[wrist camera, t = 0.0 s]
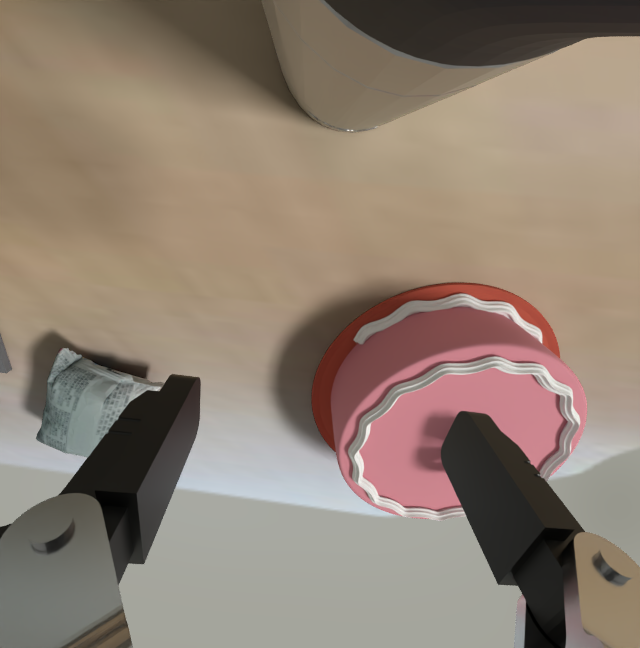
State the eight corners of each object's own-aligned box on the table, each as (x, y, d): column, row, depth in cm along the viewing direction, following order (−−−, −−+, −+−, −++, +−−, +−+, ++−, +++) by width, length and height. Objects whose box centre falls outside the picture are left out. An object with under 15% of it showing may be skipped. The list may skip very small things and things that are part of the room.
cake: (508, 472, 39) (572, 573, 30) (308, 473, 38) (308, 579, 28) (602, 285, 27) (757, 352, 18) (315, 277, 26) (320, 345, 17)
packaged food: (174, 368, 30) (150, 405, 25) (145, 447, 34) (121, 489, 30) (76, 332, 27) (32, 365, 23) (59, 421, 32) (20, 462, 28)
